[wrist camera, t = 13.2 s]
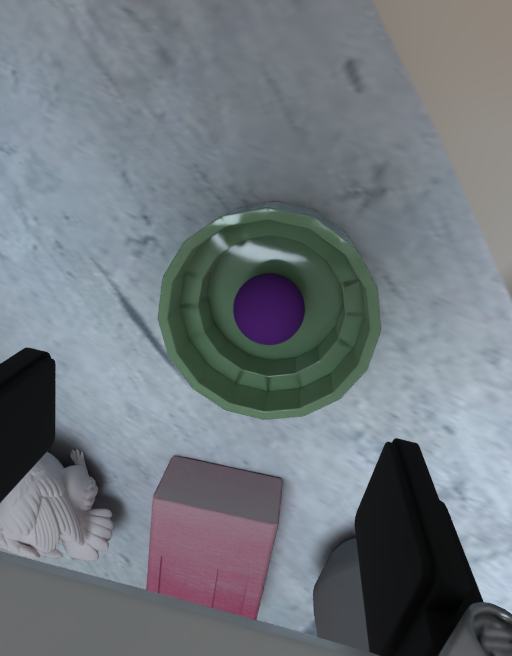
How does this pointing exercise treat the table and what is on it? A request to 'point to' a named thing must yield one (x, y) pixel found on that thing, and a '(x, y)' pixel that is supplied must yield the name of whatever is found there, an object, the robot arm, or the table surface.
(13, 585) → the robot arm
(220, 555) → the popsicle
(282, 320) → the ball
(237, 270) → the green bowl
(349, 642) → the cup
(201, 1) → the table surface
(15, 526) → the figurine
